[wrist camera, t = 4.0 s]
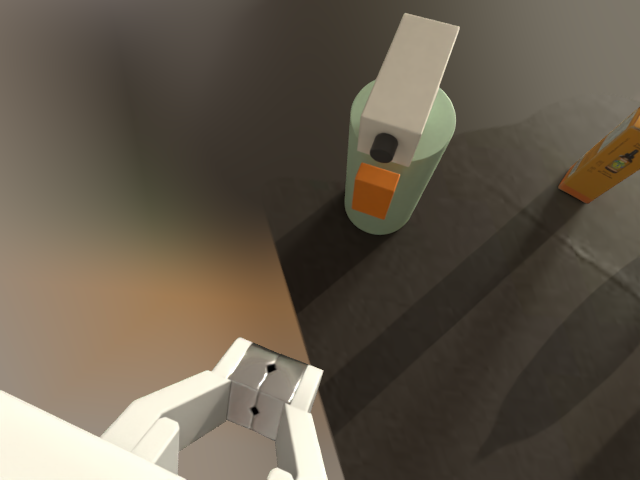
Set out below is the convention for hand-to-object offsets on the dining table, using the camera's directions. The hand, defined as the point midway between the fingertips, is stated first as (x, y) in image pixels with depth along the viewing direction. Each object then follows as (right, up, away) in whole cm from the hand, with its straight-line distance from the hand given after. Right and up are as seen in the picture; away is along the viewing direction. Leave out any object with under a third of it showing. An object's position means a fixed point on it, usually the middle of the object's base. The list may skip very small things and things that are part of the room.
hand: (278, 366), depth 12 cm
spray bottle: (+7, +7, +25) cm, 27 cm away
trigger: (+5, +6, +13) cm, 15 cm away
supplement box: (+28, +10, +26) cm, 39 cm away
